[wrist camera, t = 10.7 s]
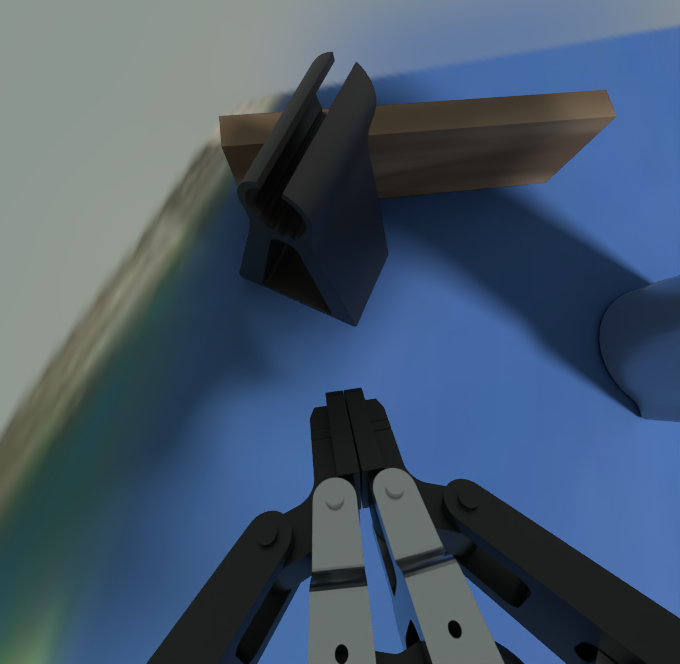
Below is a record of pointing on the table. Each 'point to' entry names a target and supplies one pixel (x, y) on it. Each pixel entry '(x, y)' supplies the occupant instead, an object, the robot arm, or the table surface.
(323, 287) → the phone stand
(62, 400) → the table surface
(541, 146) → the board
